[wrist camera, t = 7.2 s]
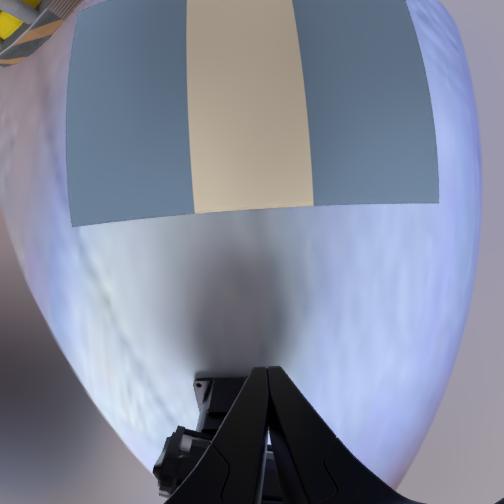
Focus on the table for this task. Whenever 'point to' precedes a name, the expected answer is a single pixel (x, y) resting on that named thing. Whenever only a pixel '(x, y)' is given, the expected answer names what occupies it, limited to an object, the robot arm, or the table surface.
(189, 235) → the table surface
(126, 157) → the lid
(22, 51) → the cage light
